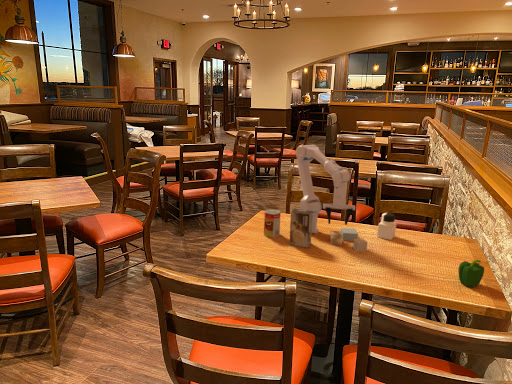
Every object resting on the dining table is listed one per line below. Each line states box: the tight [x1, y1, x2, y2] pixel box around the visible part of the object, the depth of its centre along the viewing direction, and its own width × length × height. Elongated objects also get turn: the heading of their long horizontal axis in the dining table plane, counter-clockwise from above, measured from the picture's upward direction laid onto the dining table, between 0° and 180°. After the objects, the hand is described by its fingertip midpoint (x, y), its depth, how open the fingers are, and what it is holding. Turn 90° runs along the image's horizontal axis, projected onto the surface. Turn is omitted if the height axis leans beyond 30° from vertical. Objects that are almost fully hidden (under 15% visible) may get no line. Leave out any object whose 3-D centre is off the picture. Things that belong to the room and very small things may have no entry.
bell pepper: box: [457, 259, 485, 288], centre depth 139 cm, size 8×8×10 cm
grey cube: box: [352, 238, 368, 253], centre depth 169 cm, size 4×4×4 cm
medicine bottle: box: [376, 212, 397, 241], centre depth 185 cm, size 7×7×12 cm
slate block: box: [340, 227, 359, 242], centre depth 183 cm, size 7×7×4 cm
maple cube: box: [329, 230, 343, 246], centre depth 177 cm, size 5×5×5 cm
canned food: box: [263, 208, 281, 238], centre depth 184 cm, size 8×8×12 cm
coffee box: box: [289, 208, 312, 248], centre depth 172 cm, size 9×6×16 cm
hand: (337, 223), depth 175 cm, fingers open, 7 cm apart
